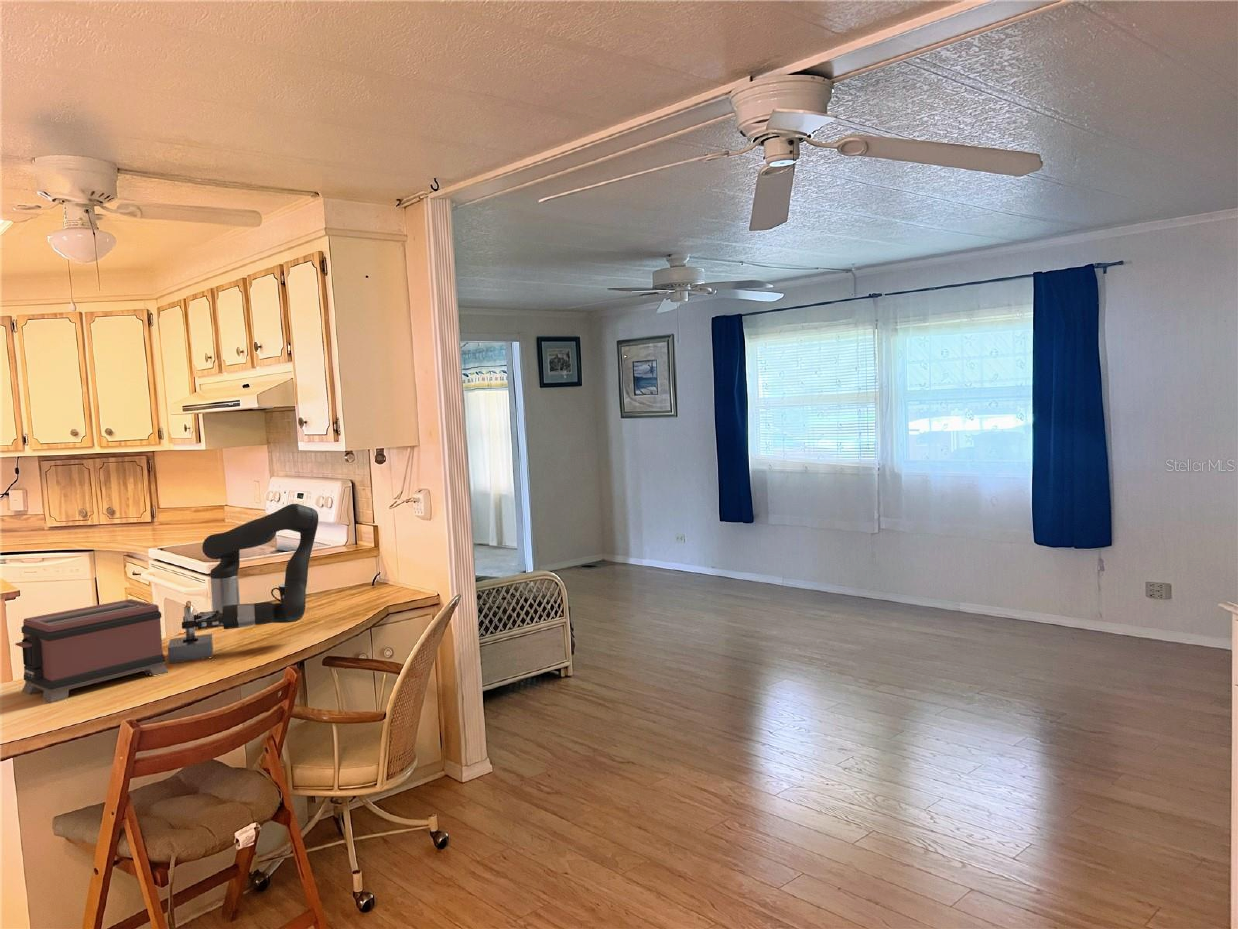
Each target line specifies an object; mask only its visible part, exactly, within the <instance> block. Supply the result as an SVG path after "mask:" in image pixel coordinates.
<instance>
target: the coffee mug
mask: <svg viewBox="0 0 1238 929" xmlns="http://www.w3.org/2000/svg"><path fill="white" fill-rule="evenodd" d="M275 590H277V591H278V592H279V596H280V599H279V598H278V597H276V596H275V594H274V591H275ZM284 593H285V583H281V584H278V587H274V588H272V589H271V591H270V595H271V596H272V597H273V599H275V600H276V601H278V603H283V600H284Z"/></svg>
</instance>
